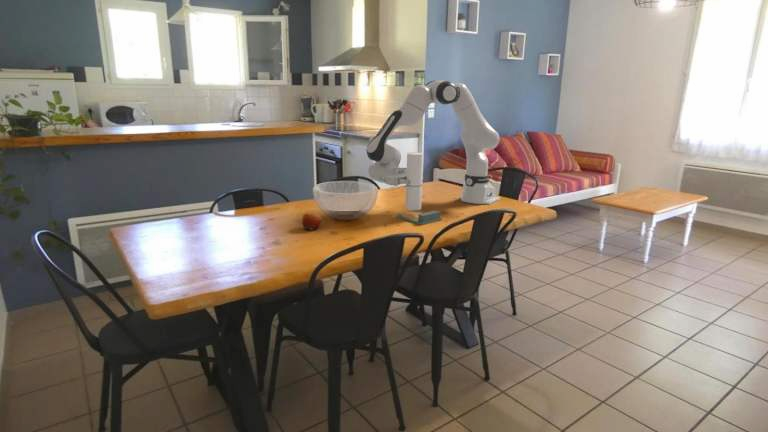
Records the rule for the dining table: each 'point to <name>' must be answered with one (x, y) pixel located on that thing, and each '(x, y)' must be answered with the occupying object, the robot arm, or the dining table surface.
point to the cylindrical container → (414, 180)
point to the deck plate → (420, 217)
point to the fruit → (311, 221)
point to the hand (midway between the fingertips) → (415, 181)
